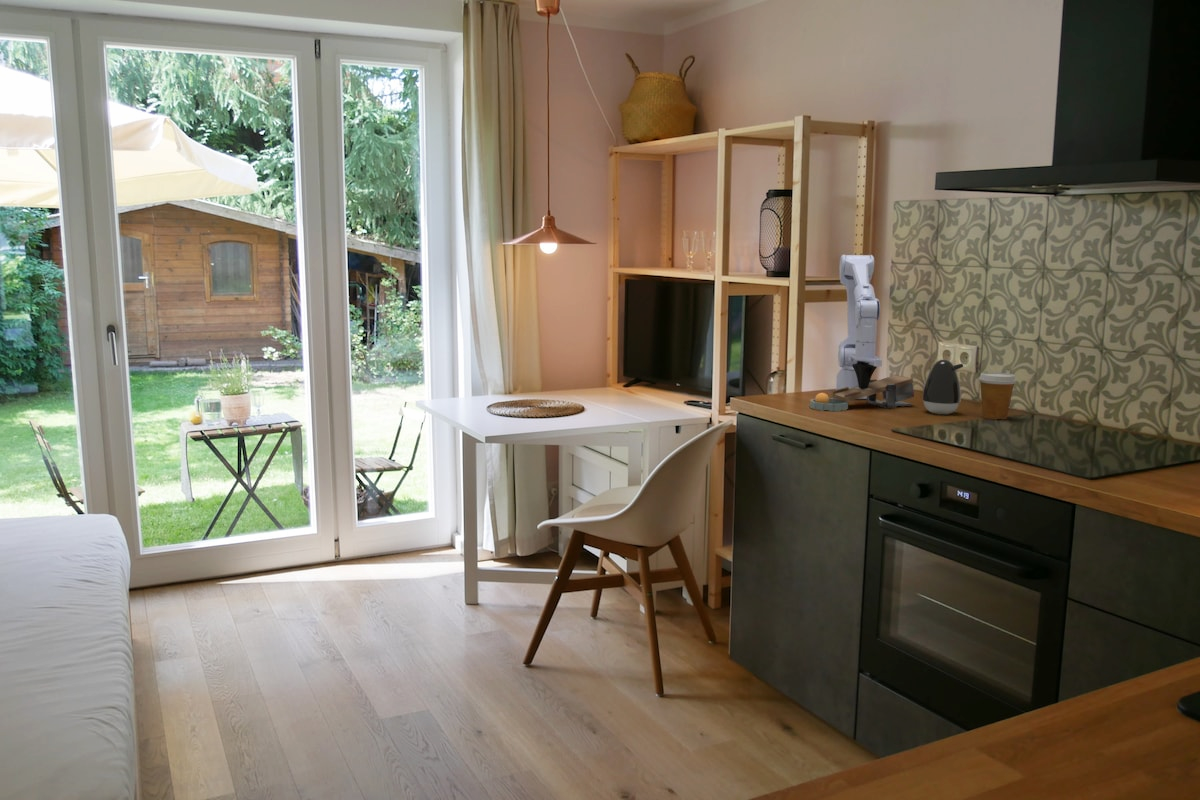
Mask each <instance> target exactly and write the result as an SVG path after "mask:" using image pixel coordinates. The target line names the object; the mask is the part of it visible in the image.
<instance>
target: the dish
mask: <svg viewBox="0 0 1200 800" xmlns="http://www.w3.org/2000/svg"><path fill="white" fill-rule="evenodd" d="M809 408H810V409H812V408H813V409H812V410H815V409H817V410H816V411H821V410H829V411H828V412H841V411H840V410H844V411H848V410H849V402H846V401H842V400H839V399H836V398H833V397H829V403H828V404H825V403H818V402H815V398H810V401H809ZM847 409H848V410H847Z"/></svg>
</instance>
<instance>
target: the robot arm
mask: <svg viewBox="0 0 1200 800" xmlns="http://www.w3.org/2000/svg"><path fill="white" fill-rule="evenodd" d="M874 271H875V257H874V255H873V254H866V255H865V254H862V255H861V254H842V255H841V256H840V258H839V281H840V282H839V283H840V284H842V285H843V286H845V291H846V302H847V303H846V305H847V310H846V311H847V312H846V313H847V337H846V338H844V339H843V340H841V341H840V343H839V345H838V353H837V365H838V366H839V367H840V369H839V370H838V372H837V373H836V380H835V381H836V382H835V383H836V384H835V385H836V386H835V390H838V389H841V388H845V387H849V389H850V388H853V387H857V386H859V388H861V389H865V388H868V385H869V382H870V379H872V375H874V372H875V370H876V369H877V367H882V362H883V359H881V358H879V356H876V349H877V348H876V347H877V332H878V331H877V330H878V329H877V328H878V321H879V319H880V315H881V303H880V299H878V298H876V294H875V289H874V286H873V285H872V284H871V280H872V277H873V274H874ZM865 399H866V400H867V396H866V397H862V398H859V399H858V400H865Z"/></svg>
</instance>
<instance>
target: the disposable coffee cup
mask: <svg viewBox="0 0 1200 800" xmlns="http://www.w3.org/2000/svg"><path fill="white" fill-rule="evenodd" d="M978 380H979V382H980V398H981V399H980V400H981V412H982V413H981V415H982V418H985V419H987V420H988V419H989V420H997V419H1002V420H1006V419H1008V415H1009V414H1008V413H1009V409H1010V406H1011V405H1010V404H1011V399H1012V395H1013V391H1014V386H1015V384H1016V381H1017V379H1016V376H1015V374H1013V373H1004V372H991V371H990V372H989V371H988V372H981V373H980V375H979V377H978Z"/></svg>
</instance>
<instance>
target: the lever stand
mask: <svg viewBox="0 0 1200 800" xmlns="http://www.w3.org/2000/svg"><path fill="white" fill-rule="evenodd" d="M877 380H878V379H877V378H876V379H875V378H871V379H870V382H874V381H877ZM870 382H869V383H870ZM895 397H896V384H887V385H886V399H885V400H878V399H877V393H876V394H872V395H869V396H867V399H866V402H868V403H867V404H869V403H871V404H870V405H873V404H875V405H874V406H876V405H878V406H877V407H879V406H881V408H883V407H884V408H883V409H886V408H887V410H889V409H888V408H897V407H896V406H910V407H912V403H910V402H906V401H904V400H902V401H899V402H895Z"/></svg>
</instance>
